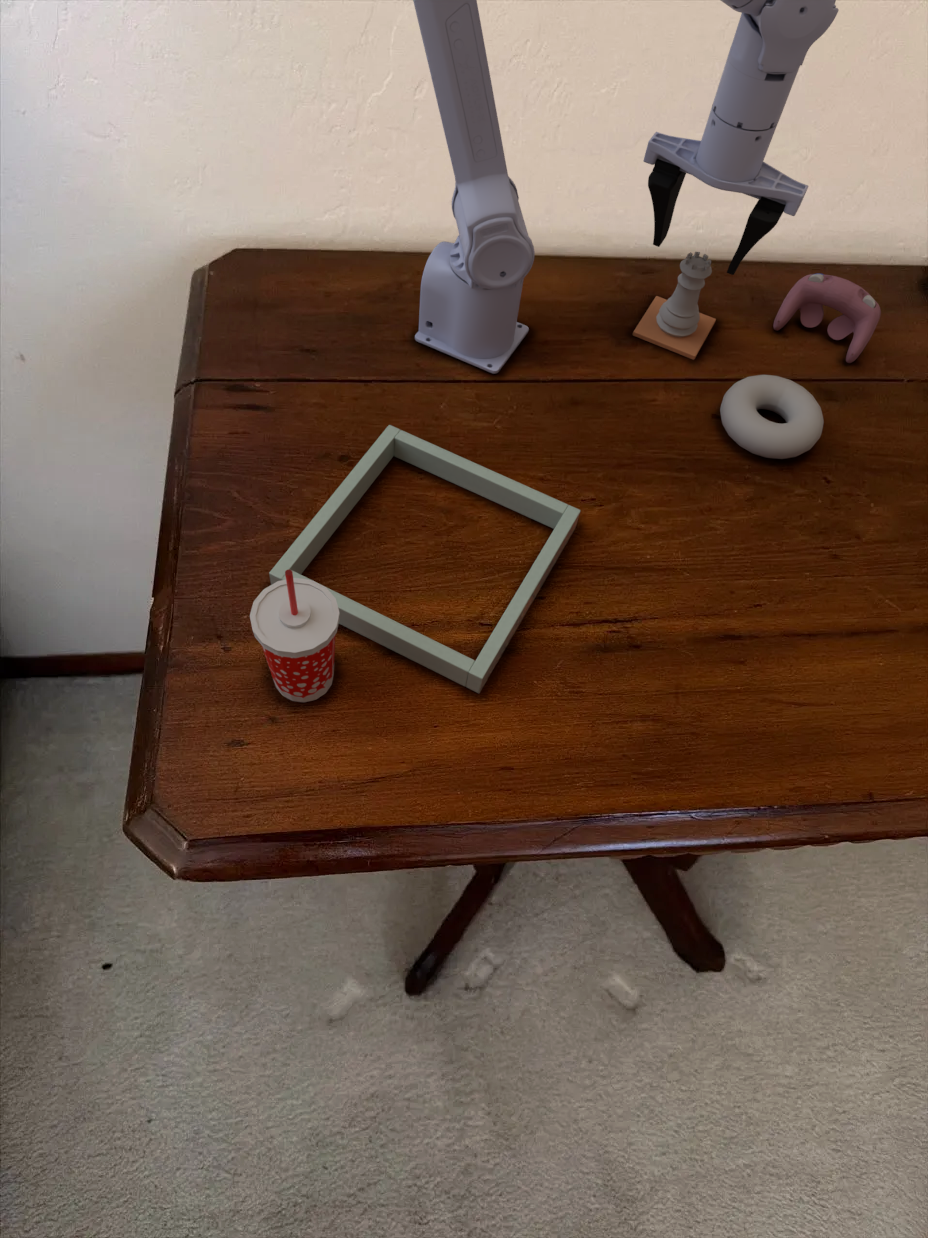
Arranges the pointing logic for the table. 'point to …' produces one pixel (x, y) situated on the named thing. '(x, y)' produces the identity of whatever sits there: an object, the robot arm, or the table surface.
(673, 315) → the rook chess piece
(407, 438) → the open square border
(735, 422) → the donut
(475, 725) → the table surface
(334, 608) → the beverage cup
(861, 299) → the video game controller
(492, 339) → the robot arm
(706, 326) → the mat
